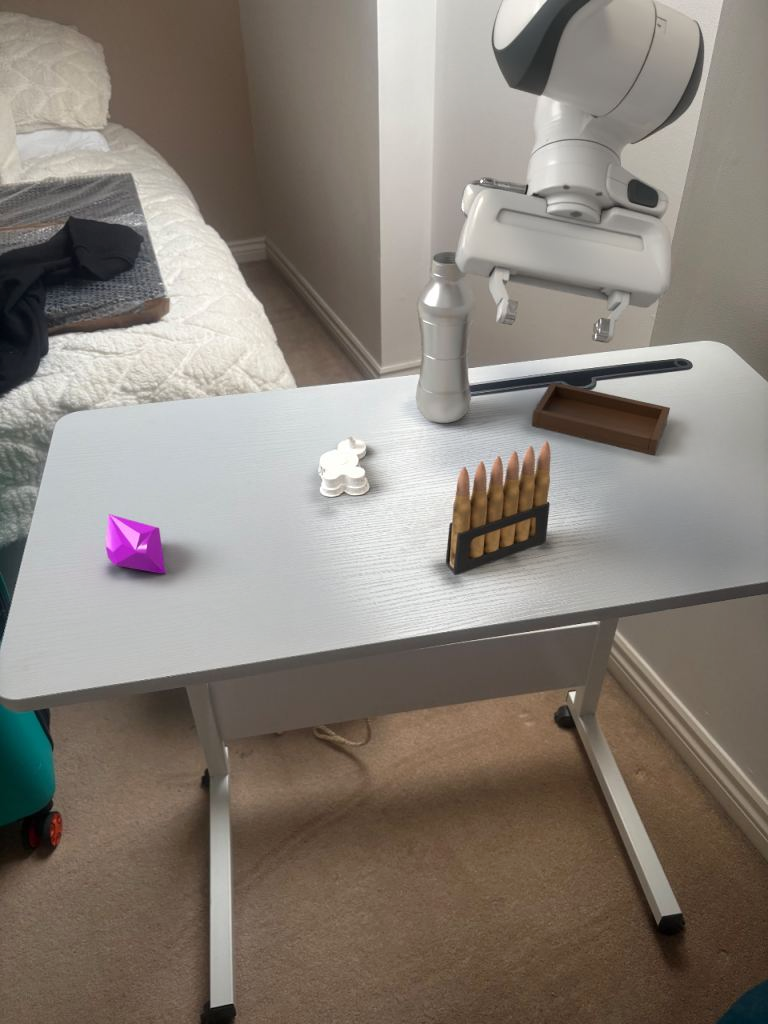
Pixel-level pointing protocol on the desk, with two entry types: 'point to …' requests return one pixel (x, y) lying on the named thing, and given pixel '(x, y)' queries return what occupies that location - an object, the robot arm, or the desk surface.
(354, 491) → the white lobed figurine
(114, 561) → the crystal
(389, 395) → the desk surface
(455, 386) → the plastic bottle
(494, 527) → the ammunition clip
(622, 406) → the tray
